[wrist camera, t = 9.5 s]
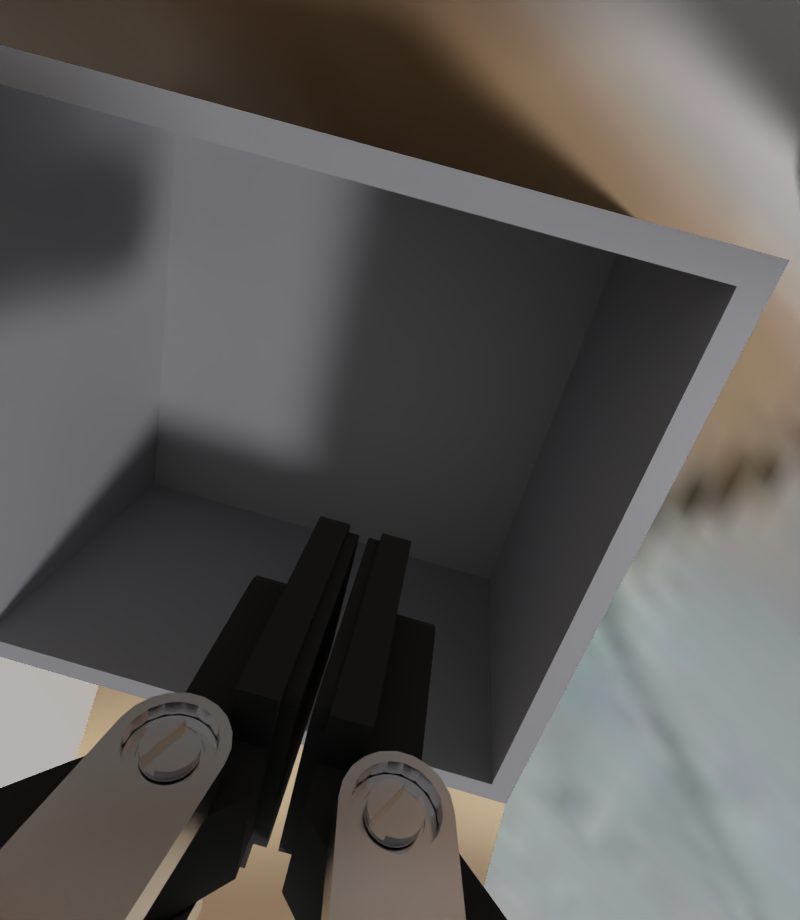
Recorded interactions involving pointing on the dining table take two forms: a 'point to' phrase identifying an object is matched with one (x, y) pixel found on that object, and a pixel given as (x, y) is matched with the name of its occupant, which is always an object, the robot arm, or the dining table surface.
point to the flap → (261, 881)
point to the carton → (330, 393)
